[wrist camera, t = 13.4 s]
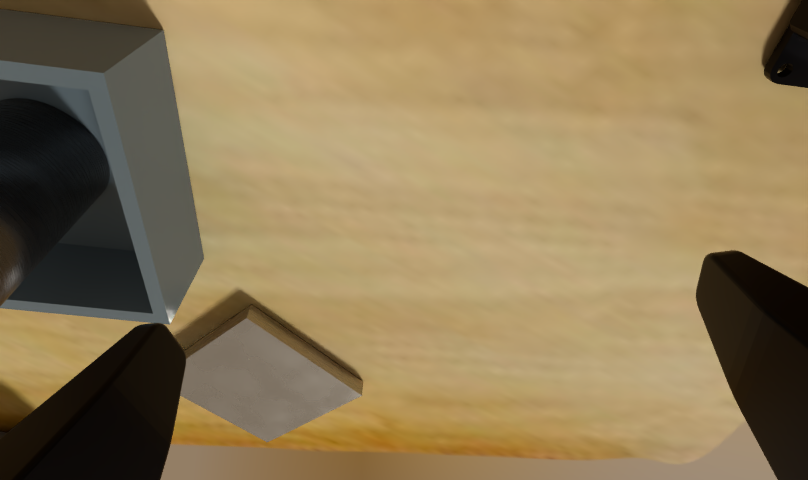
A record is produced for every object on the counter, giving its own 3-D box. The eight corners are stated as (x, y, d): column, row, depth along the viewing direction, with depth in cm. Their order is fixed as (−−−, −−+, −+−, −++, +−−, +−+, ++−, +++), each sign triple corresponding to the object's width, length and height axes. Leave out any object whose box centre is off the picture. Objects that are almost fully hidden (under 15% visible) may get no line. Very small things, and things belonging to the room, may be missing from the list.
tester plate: (251, 304, 27) (246, 318, 26) (363, 381, 31) (361, 395, 30) (160, 367, 31) (153, 381, 30) (270, 429, 35) (267, 442, 34)
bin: (163, 30, 18) (103, 73, 15) (204, 258, 25) (169, 324, 22) (-160, -12, 17) (-302, 22, 14) (-26, 234, 24) (-99, 298, 21)
